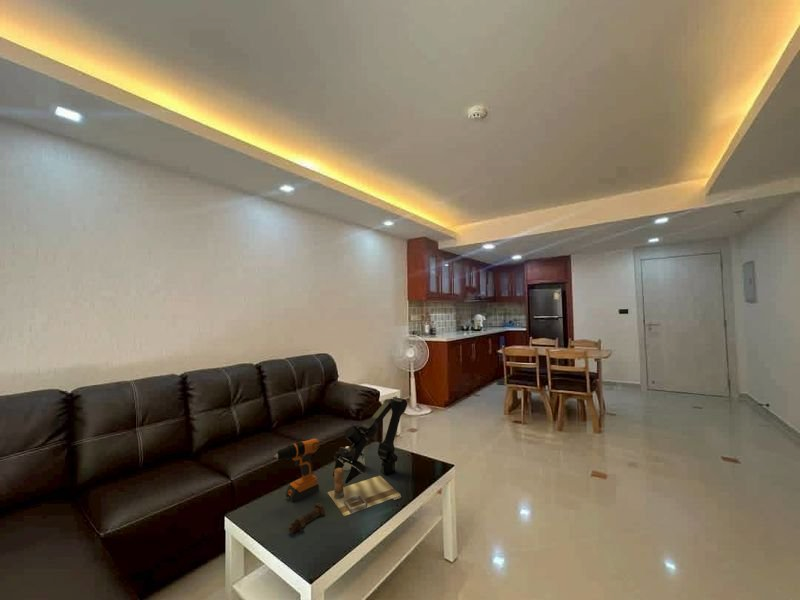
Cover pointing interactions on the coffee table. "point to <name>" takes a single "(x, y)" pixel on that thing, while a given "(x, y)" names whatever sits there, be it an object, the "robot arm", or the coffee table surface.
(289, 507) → the coffee table surface
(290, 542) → the coffee table surface
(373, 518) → the coffee table surface
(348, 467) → the light bulb box
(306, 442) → the power drill
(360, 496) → the subfloor panel
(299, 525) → the bolt
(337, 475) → the brown piece
